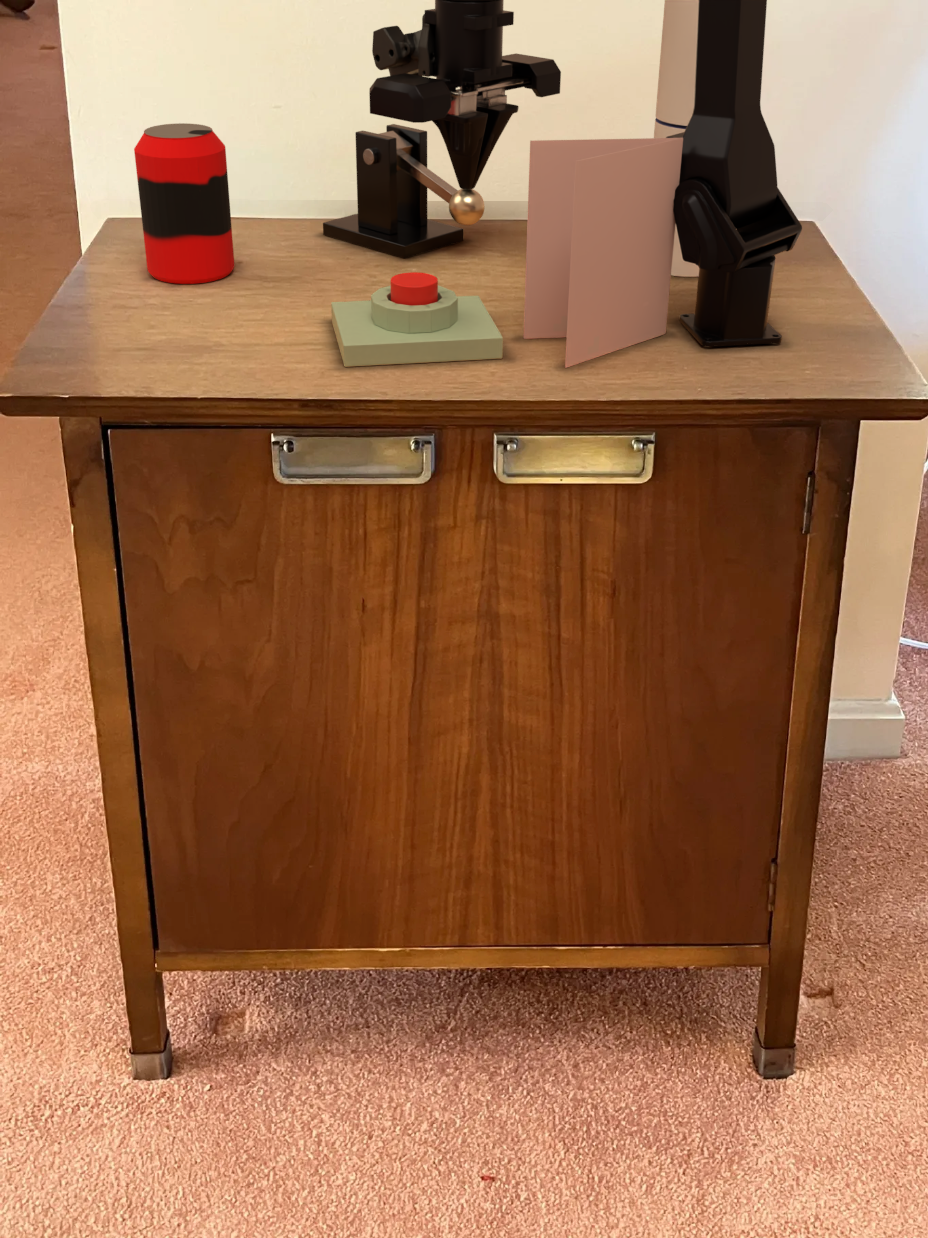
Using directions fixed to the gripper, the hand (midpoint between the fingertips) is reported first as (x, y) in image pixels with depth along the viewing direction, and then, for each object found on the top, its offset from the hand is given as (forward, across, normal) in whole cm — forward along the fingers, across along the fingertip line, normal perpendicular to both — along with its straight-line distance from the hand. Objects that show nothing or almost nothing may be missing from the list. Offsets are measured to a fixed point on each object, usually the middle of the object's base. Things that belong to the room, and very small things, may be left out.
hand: (467, 188), depth 122 cm
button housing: (+6, +19, +12) cm, 23 cm away
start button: (+3, +19, +12) cm, 22 cm away
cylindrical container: (+6, -12, +15) cm, 21 cm away
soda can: (+6, +20, -15) cm, 26 cm away
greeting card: (+6, +10, +23) cm, 26 cm away
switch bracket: (+6, 0, -10) cm, 11 cm away
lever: (+1, 0, -5) cm, 5 cm away
